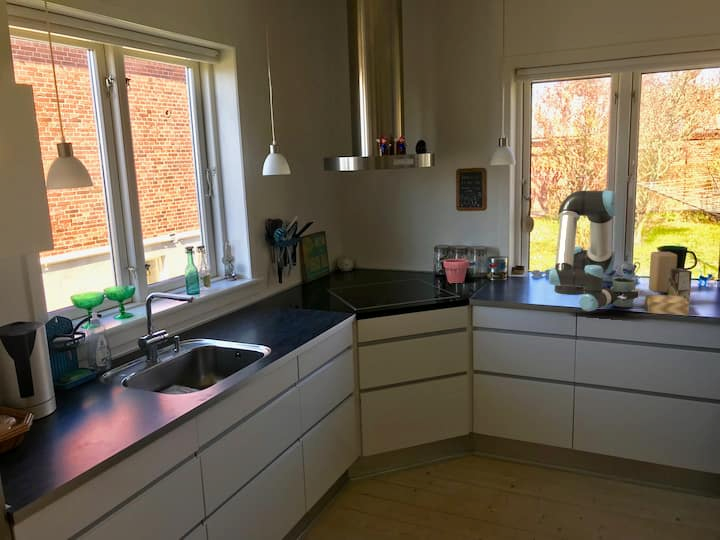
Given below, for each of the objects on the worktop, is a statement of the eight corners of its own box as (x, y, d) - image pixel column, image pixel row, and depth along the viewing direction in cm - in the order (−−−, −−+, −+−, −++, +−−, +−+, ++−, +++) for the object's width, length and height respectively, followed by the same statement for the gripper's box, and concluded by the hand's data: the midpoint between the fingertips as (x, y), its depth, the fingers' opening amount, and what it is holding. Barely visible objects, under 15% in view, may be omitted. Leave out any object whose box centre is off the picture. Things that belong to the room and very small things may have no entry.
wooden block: (667, 289, 317) (670, 251, 314) (675, 293, 307) (678, 254, 304) (647, 289, 318) (650, 251, 315) (655, 293, 308) (657, 254, 305)
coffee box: (690, 304, 282) (692, 271, 279) (677, 305, 282) (679, 271, 279) (678, 300, 291) (680, 267, 288) (665, 301, 291) (668, 268, 288)
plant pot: (444, 279, 354) (444, 258, 352) (468, 280, 352) (468, 258, 349) (442, 284, 341) (442, 262, 338) (467, 285, 338) (468, 262, 336)
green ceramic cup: (627, 302, 286) (628, 277, 284) (639, 307, 276) (641, 281, 274) (607, 303, 285) (608, 278, 283) (618, 308, 275) (619, 282, 273)
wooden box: (648, 312, 269) (648, 301, 268) (644, 304, 284) (645, 294, 283) (688, 315, 264) (689, 303, 263) (682, 306, 279) (683, 295, 278)
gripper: (580, 301, 277) (605, 294, 291) (627, 310, 261) (651, 301, 275) (581, 285, 276) (606, 278, 290) (628, 293, 259) (652, 285, 273)
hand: (628, 289), depth 282 cm, fingers closed on green ceramic cup, 9 cm apart
